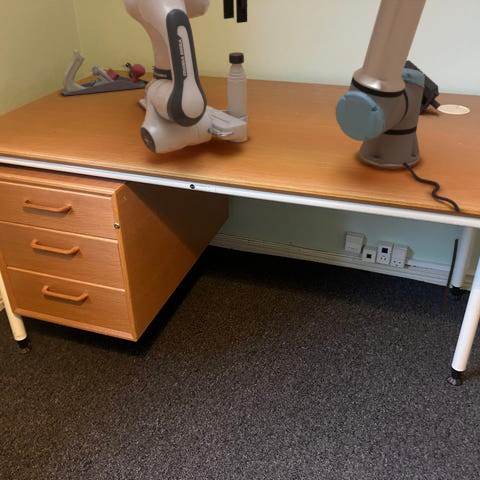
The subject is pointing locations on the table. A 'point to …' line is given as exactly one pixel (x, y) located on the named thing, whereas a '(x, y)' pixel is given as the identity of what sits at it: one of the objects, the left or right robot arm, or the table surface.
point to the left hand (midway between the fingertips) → (240, 115)
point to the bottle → (237, 95)
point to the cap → (236, 58)
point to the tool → (426, 89)
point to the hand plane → (105, 80)
